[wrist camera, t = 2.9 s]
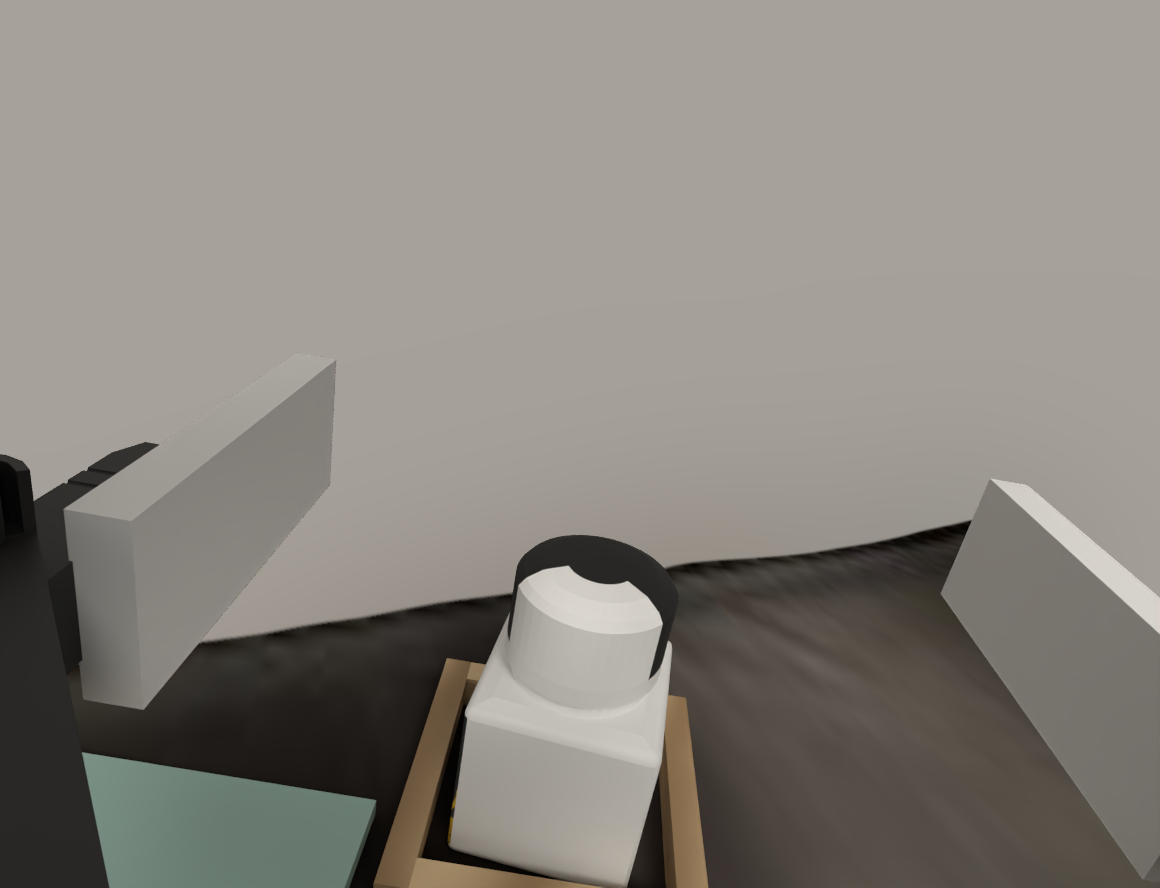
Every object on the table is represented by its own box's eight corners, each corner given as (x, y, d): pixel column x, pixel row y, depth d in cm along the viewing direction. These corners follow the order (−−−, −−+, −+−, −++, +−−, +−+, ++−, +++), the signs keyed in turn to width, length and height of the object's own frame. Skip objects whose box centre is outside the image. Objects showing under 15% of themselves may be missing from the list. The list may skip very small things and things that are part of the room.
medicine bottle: (494, 722, 35) (529, 500, 31) (641, 760, 35) (700, 540, 30) (443, 851, 29) (478, 595, 24) (623, 902, 28) (695, 648, 24)
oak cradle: (678, 722, 37) (685, 697, 37) (703, 967, 26) (714, 937, 26) (444, 683, 37) (447, 658, 37) (371, 914, 26) (373, 883, 26)
